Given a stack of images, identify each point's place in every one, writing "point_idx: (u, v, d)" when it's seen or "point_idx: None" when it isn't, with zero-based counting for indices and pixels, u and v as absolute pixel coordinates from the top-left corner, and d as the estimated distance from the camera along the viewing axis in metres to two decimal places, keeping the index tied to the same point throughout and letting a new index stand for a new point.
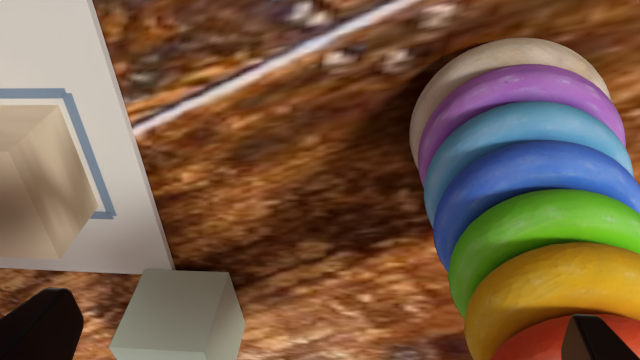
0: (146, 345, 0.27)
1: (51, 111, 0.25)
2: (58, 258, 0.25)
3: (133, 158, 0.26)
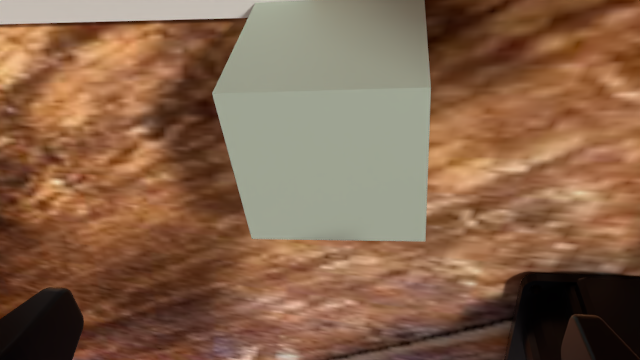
0: (295, 86, 0.12)
1: None
2: None
3: None
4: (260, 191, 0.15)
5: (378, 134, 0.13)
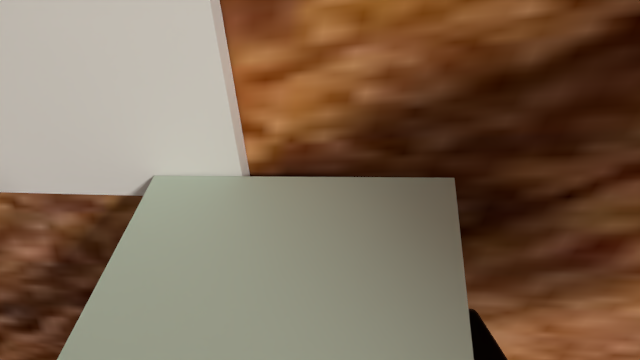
0: None
1: None
2: None
3: None
4: None
5: None
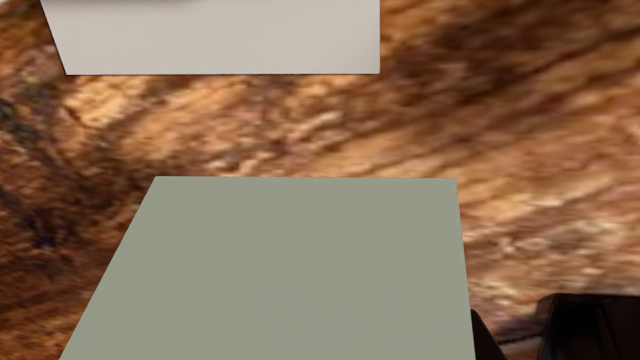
0: None
1: None
2: None
3: None
4: None
5: None
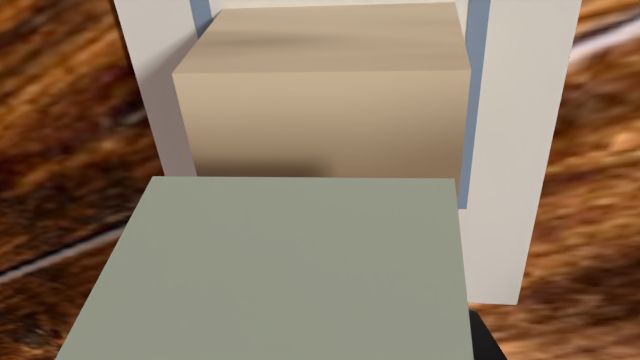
0: None
1: (456, 10, 0.13)
2: None
3: (552, 106, 0.15)
4: None
5: None
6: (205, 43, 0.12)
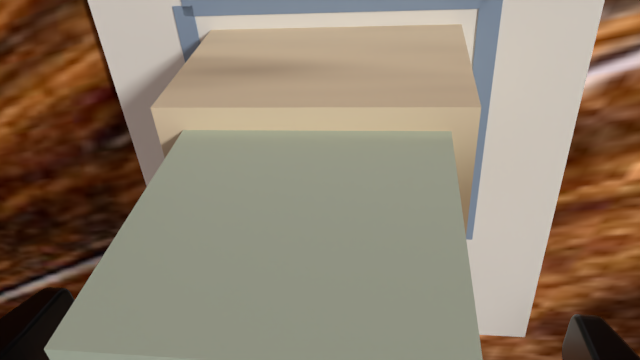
0: (208, 344, 0.06)
1: (462, 34, 0.12)
2: None
3: (565, 133, 0.14)
4: None
5: None
6: (189, 71, 0.11)
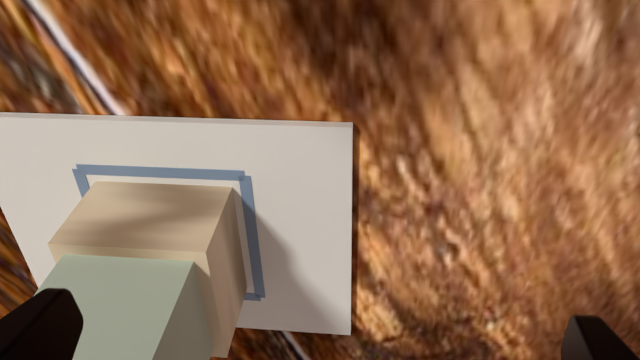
0: None
1: (88, 190, 0.23)
2: (203, 253, 0.19)
3: (147, 125, 0.21)
4: None
5: None
6: None
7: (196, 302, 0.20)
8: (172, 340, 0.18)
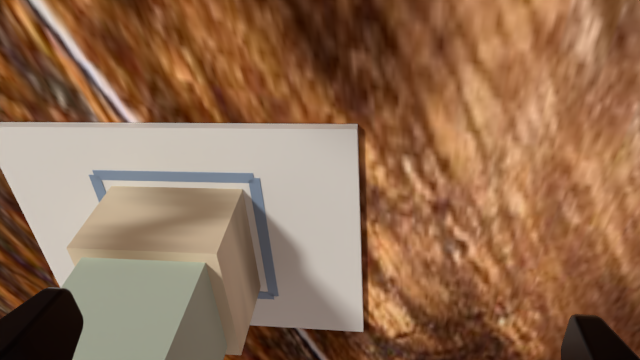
0: None
1: (105, 194, 0.24)
2: (214, 254, 0.20)
3: (159, 131, 0.22)
4: None
5: None
6: None
7: (208, 302, 0.21)
8: (186, 339, 0.19)
